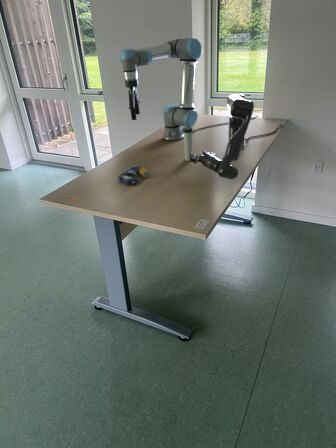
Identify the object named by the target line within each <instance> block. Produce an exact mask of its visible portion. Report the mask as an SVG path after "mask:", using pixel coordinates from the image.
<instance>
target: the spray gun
mask: <svg viewBox="0 0 336 448" xmlns="http://www.w3.org/2000/svg"><path fill="white" fill-rule="evenodd" d="M138 174H139V175H140V176H142V177H143V178H144V179H147V178H149V177H150V171H149V170H148V169H146V168H145V167H141V165H140V164H138V165H131V166H130V167H129V168H127V169H126V170H125V171H123V172H122V173H120V174H119V175H118V176H117V179H116V182H119V183H124V184H126V186H127V185H128V186H129V185H135V184H136V183H138V182H139V177H138Z"/></svg>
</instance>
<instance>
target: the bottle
mask: <svg viewBox="0 0 336 448" xmlns="http://www.w3.org/2000/svg"><path fill="white" fill-rule="evenodd" d="M183 133H184V132H183ZM183 145H184V160H185V161H187V162H191V161H190V154H193V155H194V152H193V151H194V150H193V132H190V133H184V137H183Z"/></svg>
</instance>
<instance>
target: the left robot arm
mask: <svg viewBox="0 0 336 448" xmlns="http://www.w3.org/2000/svg"><path fill="white" fill-rule="evenodd" d="M202 53H203V47H202V43H201V42H200V40H199V39H197V38H194V37H188V38H187V37H185V38H176V39H173V40H169V41H164V42H162V44H157V45H154V46H147V47H142V48H137V49H135V48H125V49H124V48H123V49H121V51H120V53H119V56H118V59H119V62H120V64H121V65H122V71H123V73H122V76H123V77H124V85H125V88H126V89H127V88H128V89H129V90H128V104H129V105H128V106H129V107H128V110H130V116H131V117H130V118H131V121H137V120H138V119H137V115H140V114H141V112H140V103H141V101H140V99H139V94H138V90H137V88H138V87H139V80H138V77H139V76H138V70H137V68H138V67H143V66H148V65H151V64H152V63H153V61H155V60H159V59H167V60H168V59H177V60H178V59H179V63H180V64H181V75H180V99H179V100H180V101H179V104H172V105H166V106H165V107H163V113H162V114H163V123H164V130H163V135H162V139H163V140H164V141H167V142H176V141H180V140H182V139H184V132H183V128H184V127H192V128H193V127H194V126H195V124H196V123H197V121H198V119H199V115H198V111H197V110H195V109H196V106H195V105H194V90H195V89H194V88H195V72H196V70H195V69H196V65H197V64H198V61H199V60H198V59H200V58H201V56H202ZM257 118H259V115H256V116H253V117H251V119H250V120H253V119H257ZM222 125H229V121H228V122H223V123H218V124H211V125H207V126H203V127H199V128H196V129H193V131H192V133H195V132H196V131H199V130H203V129H206V128H210V127H216V126H222ZM182 127H183V128H182Z"/></svg>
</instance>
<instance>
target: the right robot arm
mask: <svg viewBox="0 0 336 448" xmlns="http://www.w3.org/2000/svg"><path fill="white" fill-rule="evenodd" d="M226 108H227V110H228V111H229V115H230V116H229V118H228V122H229V123H228V142H227V145H226V148H225V152H224V155H223V158H222V159H220V158H219V157H217V154H216V153H215V152H213V151H205V150H203V151H202V154H201V155H200V154H196V155H195V154H194V153H193V154H190V161H189V162H191V163H193V164H198V163H201V165H202V166H204V167H205V168H207V169H209V170H210V171H212V172H214V173H216V174H218V176H219V177H220V178H223V179H226V180H236V179H237V177H238V176H239V170H238V168H237V167H236V166H235V165H233V164H231V163H232V162H236V161H238V160H239V159H240V153H241V150H242V149H244V148H245V143H248V142H249V139H252V138H258V137H263V136H267V135H271V134H274V133H276V132H277V130H278V128H279V127H282V126H283V125H282V124H281V123H280V124H279V125H277V127H276V128H275V130H273V131H271V132H269V133H268V132H267V133H264V134H258V135H252V136H249V137H247V139H246V138H245V137H246V133H247V130H248V128H249V125H250V123H251V120H252V119H251V118H252V116H253V114H254V108H255V103H254V102H253V101H251V100H248V99H246V96H245V95H244V94H242V93H241V94H230V95H228V97H227V99H226Z"/></svg>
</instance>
